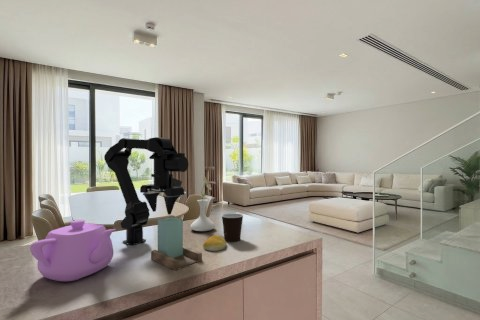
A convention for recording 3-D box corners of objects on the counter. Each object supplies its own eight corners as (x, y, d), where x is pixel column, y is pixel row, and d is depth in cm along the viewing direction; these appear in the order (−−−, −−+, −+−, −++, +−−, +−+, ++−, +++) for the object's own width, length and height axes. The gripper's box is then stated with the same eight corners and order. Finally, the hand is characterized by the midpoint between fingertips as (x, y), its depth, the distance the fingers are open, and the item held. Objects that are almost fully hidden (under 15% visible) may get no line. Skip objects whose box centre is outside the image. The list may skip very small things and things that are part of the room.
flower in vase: (213, 233, 115) (213, 177, 115) (187, 233, 115) (187, 177, 115) (216, 225, 128) (216, 175, 128) (193, 225, 128) (193, 175, 128)
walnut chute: (151, 258, 87) (150, 250, 87) (177, 250, 95) (177, 243, 95) (174, 270, 77) (174, 262, 77) (201, 260, 85) (201, 252, 85)
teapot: (11, 285, 68) (10, 228, 68) (85, 257, 88) (84, 212, 88) (71, 303, 60) (70, 238, 60) (137, 267, 80) (137, 218, 80)
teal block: (157, 255, 88) (157, 220, 88) (173, 250, 93) (172, 217, 93) (167, 259, 84) (167, 223, 84) (182, 254, 89) (182, 219, 88)
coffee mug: (238, 244, 101) (238, 218, 101) (218, 241, 104) (218, 216, 104) (247, 235, 112) (247, 212, 112) (228, 233, 115) (228, 211, 115)
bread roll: (200, 251, 94) (200, 240, 94) (208, 243, 103) (208, 233, 103) (222, 252, 93) (222, 241, 93) (228, 244, 101) (228, 234, 101)
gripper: (195, 171, 98) (195, 212, 99) (162, 169, 109) (162, 206, 109) (172, 172, 89) (172, 217, 89) (139, 170, 100) (139, 211, 100)
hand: (161, 212), depth 97 cm, fingers open, 8 cm apart
